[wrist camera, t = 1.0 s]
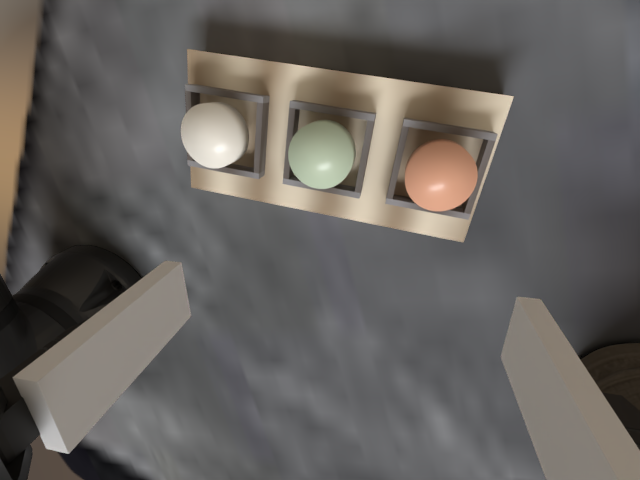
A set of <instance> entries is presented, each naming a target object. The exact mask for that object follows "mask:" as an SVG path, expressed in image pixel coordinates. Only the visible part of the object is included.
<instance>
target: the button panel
mask: <svg viewBox="0 0 640 480" xmlns="http://www.w3.org/2000/svg"><path fill="white" fill-rule="evenodd" d="M187 62H188V84H185V102H186V113H187V111H188V110H189V109H191V108H192V107H193V106H195V105H198V104H202V103H211V102H223V103H226V104H229V105H231V106H232V107H234V108H235V109H236V110H238V111H239V112H240V114H241V115H242V116H243V118H244V119H245V121H246V123H247V126H248V130H249V145H248V148H247V150H246V152H245V154H244V155H243V156H242V157H241V158H240V159H239V160H237V161H235V162H233V163H231V164H229V165H227V166H225V167H222V168H208V167H205V166H202V165H201V164H199V163H198V162H196V161H195V160H194V159H193V158H192V157H191V156H190V155H189V153H188V152H187V161H188V166H191V187H192V188H197V189H202V190H207V191H212V192H217V193H222V194H227V195H232V196H237V197H242V198H246V199H251V200H256V201H261V202H266V203H271V204H276V205H281V206H286V207H291V208H296V209H301V210H306V211H311V212H316V213H321V214H326V215H330V216H335V217H340V218H345V219H350V220H355V221H360V222H365V223H370V224H375V225H380V226H385V227H390V228H395V229H400V230H405V231H410V232H414V233H419V234H424V235H429V236H434V237H439V238H444V239H449V240H454V241H459V242H464V239H465V236H466V234H467V231H468V228H469V225H470V222H471V219H472V216H473V213H474V210H475V207H476V205H477V202H478V199H479V196H480V193H481V190H482V187H483V184H484V181H485V179H486V176H487V173H488V170H489V167H490V164H491V161H492V158H493V155H494V152H495V150H496V147H497V144H498V141H499V138H500V135H501V132H502V129H503V126H504V123H505V121H506V118H507V115H508V112H509V109H510V106H511V103H512V100H513V97H514V96H508V95H501V94H494V93H487V92H480V91H473V90H466V89H459V88H452V87H446V86H439V85H432V84H425V83H418V82H411V81H404V80H397V79H390V78H384V77H377V76H370V75H363V74H356V73H349V72H342V71H335V70H328V69H321V68H315V67H308V66H301V65H294V64H287V63H280V62H273V61H266V60H259V59H253V58H246V57H239V56H232V55H225V54H218V53H211V52H204V51H197V50H190V49H187ZM318 120H331V121H335V122H337V123H339V124H341V125H342V126H344V127H345V128H346V129H347V130H348V131H349V133H350V134H351V136H352V138H353V140H354V143H355V147H356V157H355V161H354V164H353V166H352V168H351V170H350V172H349V173H348V175H347V176H346V178H345V179H344V180H343V181H342V182H341V183H339V184H338V185H336V186H334V187H331V188H327V189H316V188H312V187H309V186H307V185H305V184H304V183H302V182H301V181H300V180H299V179H298V178H297V177H296V176H295V174H294V173H293V171H292V169H291V167H290V164H289V159H288V150H289V145H290V142H291V140H292V138H293V136H294V135H295V134H296V132H297V131H298V130H299V129H301V128H302V127H304V126H306V125H308V124H310V123H312V122H315V121H318ZM436 139H447V140H452V141H454V142H456V143H458V144H460V145H461V146H463V147H464V148H465V149H466V150H467V152H468V153H469V154H470V155H471V156H472V157H473V159H474V161H475V163H476V166H477V171H478V178H477V183H476V186H475V189H474V191H473V192H472V194H471V195H470V197H469V198H468V199H467V200H466V201H465V202H463V203H462V204H461V205H459V206H457V207H455V208H453V209H450V210H446V211H430V210H427V209H424V208H422V207H420V206H419V205H417V204H416V203H415V202H414V201H413V200H412V199H411V198H410V196H409V194H408V192H407V190H406V186H405V167H406V164H407V161H408V159H409V157H410V156H411V154H412V153H413V152H414V151H415V150H416V149H417V148H418V147H419V146H421V145H422V144H424V143H426V142H428V141H431V140H436Z"/></svg>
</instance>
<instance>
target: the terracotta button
mask: <svg viewBox="0 0 640 480" xmlns="http://www.w3.org/2000/svg"><path fill="white" fill-rule="evenodd" d="M477 178H478V171H477V166H476V163H475V161H474V159H473V157H472V156H471V155H470V154H469V153H468V152H467V150H466V149H465V148H464V147H463V146H461V145H460V144H458V143H456V142H454V141H452V140H447V139H436V140H431V141H428V142H426V143H424V144H422V145H421V146H419V147H418V148H417V149H416V150H415V151H414V152H413V153H412V154H411V156H410V157H409V159H408V161H407V164H406V167H405V186H406V190H407V192H408V194H409V196H410V198H411V199H412V200H413V201H414V202H415V203H416V204H417V205H419V206H420V207H422V208H424V209H427V210H430V211H446V210H450V209H453V208H455V207H457V206H459V205H461V204H462V203H463V202H465V201H466V200H467V199H468V198H469V197H470V195H471V194H472V192H473V191H474V189H475V186H476V183H477Z"/></svg>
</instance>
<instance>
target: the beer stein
mask: <svg viewBox="0 0 640 480" xmlns="http://www.w3.org/2000/svg"><path fill="white" fill-rule="evenodd" d="M581 362H582V363H583V365H584V366H585V368H586V369H587V371H588V372H589V374H590V375H591V377H592V378H593V380H594V381H595V383H596V384H597V386H598V388H599V389H600V391H601V392H602V393H609V394H616V395H622V396H623V397H624V398H625V399H627V400H628V401H629V402H630V403H631V404H633V405H634V406H635V407H636V408H637V409H638V410H640V343H627V344H618V345H612V346H607V347H604V348H601V349H598V350H596V351H594V352H592V353H590V354H589V355H587V356H585V357H584V358H582V359H581Z"/></svg>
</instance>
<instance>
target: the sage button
mask: <svg viewBox="0 0 640 480" xmlns="http://www.w3.org/2000/svg"><path fill="white" fill-rule="evenodd" d="M355 157H356V147H355V143H354V140H353V138H352V136H351V134H350V133H349V131H348V130H347V129H346V128H345V127H344V126H342V125H341V124H339V123H337V122H335V121H331V120H318V121H315V122H312V123H310V124H308V125H306V126H304V127H302V128H301V129H299V130H298V131H297V132H296V134H295V135H294V136H293V138H292V140H291V142H290V145H289V150H288V159H289V164H290V167H291V169H292V171H293V173H294V174H295V176H296V177H297V178H298V179H299V180H300V181H301V182H302V183H304V184H305V185H307V186H309V187H312V188H316V189H327V188H331V187H334V186H336V185H338V184H339V183H341V182H342V181H343V180H344V179H345V178H346V176H347V175H348V173H349V172H350V170H351V168H352V166H353V164H354V161H355Z"/></svg>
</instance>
